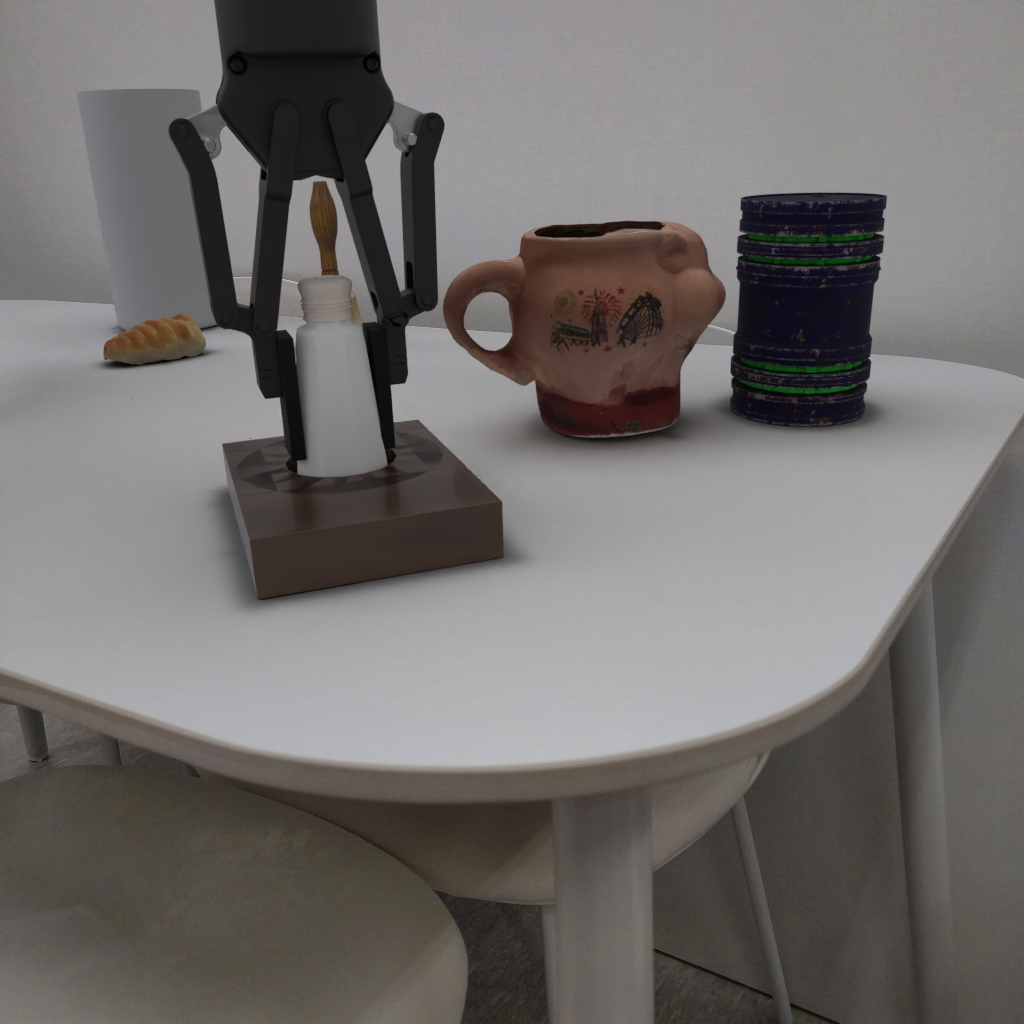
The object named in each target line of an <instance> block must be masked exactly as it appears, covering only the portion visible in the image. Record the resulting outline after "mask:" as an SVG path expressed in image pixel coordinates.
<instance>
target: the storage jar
mask: <svg viewBox="0 0 1024 1024" xmlns="http://www.w3.org/2000/svg"><path fill="white" fill-rule="evenodd" d="M887 202H888V195H886V194H882V193H881V194H880V193H870V192H869V193H867V192H788V193H784V192H783V193H767V194H766V193H765V194H753V195H746V196H741V197H740V209H739V210H740V211H741V218H740V219H739V227H738V229H739V232H740V233H742V234H740V235H738V236H737V241H736V253H737V254H738V255H739V256H738V257H737V265H736V267H735V270H736V279H737V281H738V283H739V288H738V289H739V291H738V305H737V307H738V308H737V327H736V331H735V332H734V334H733V340H732V354H733V355H732V356H731V357H730V370H729V371H730V372H729V373H730V375H731V376H732V378H731V381H730V387H731V389H732V395H731V397H730V398H729V409H730V410H731V412H733V413H734V414H736V415H737V416H740V417H741V418H745V419H747V420H751V421H755V422H759V423H764V424H771V425H778V426H786V427H787V426H788V427H789V426H790V427H791V426H792V427H827V426H837V425H842V424H846V423H847V424H848V423H851V422H854V421H857V420H859V419H861V418H862V417H863V416H864V415H865V412H866V402H865V400H864V399H865V394H866V393H867V391H868V383H867V381H868V380H870V378H871V371H872V369H871V368H872V360H871V359H870V357H871V355H872V346H873V344H872V343H873V337H872V335H871V333H870V331H871V330H870V329H871V320H872V312H873V303H874V302H873V300H874V293H875V284H876V283H877V281H878V280H879V277H880V271H881V270H882V267H881V259H882V257H880V256H879V255H881V254H883V252H884V243H885V235H883V234H880V233H882V232H883V231H885V230H884V229H885V222H886V221H885V220H886V218H884V210H886V208H887Z"/></svg>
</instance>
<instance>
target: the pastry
mask: <svg viewBox="0 0 1024 1024" xmlns="http://www.w3.org/2000/svg"><path fill="white" fill-rule="evenodd" d="M206 347H207V341H206V338H205V336H204V334H203V331H202V329H200V328H199V327H198V326H197V325H196V322H195V320H194V319H193V318H192V317H191V316H189V315H186V314H178V315H176V316H171V317H170V318H163V319H150V320H146V321H144V322H142V323H140V324H137V325H135V326H133V327H132V328H131V329H129V330H124V331H121V332H119V333H118V334H117V335H116V336H115V335H114V336H113V337H112V338H109V339H108V340H106V341H105V343H104V345H103V355H102V356H103V359H104V360H105V361H109V360H110V361H115V362H119V363H124V364H130V365H131V366H133V365H138V366H139V365H140V366H141V365H144V364H146V363H147V364H148V363H158V362H160V361H174V360H179V359H182V358H183V357H188V358H191V357H196V356H198V355H201V354H203V353H204V350H205V348H206Z"/></svg>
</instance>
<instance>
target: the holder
mask: <svg viewBox="0 0 1024 1024" xmlns="http://www.w3.org/2000/svg"><path fill="white" fill-rule="evenodd" d="M394 433H395V446H396V448H391V449H385V453H386V459H387V464H388V465H387V466H385V467H383V468H381V469H378V470H374V471H371V472H367V473H364V474H358V475H350V476H343V477H313V476H305V475H299V474H298V462H297V461H292V459H291V457H290V455H289V453H288V451H287V449H286V446H285V438H284V435H281V436H272V437H264V438H257V439H255V438H254V439H249V440H248V439H247V440H239V441H232V442H224V443H221V448H222V454H223V461H224V469H225V475H226V483H227V491H228V494H229V497H230V501H231V504H232V508H233V512H234V516H235V521H236V524H237V527H238V532H239V536H240V539H241V542H242V546H243V550H244V554H245V557H246V561H247V565H248V569H249V572H250V577H251V580H252V583H253V587H254V591H255V596H256V599H257V600H263V599H268V598H274V597H280V596H286V595H291V594H298V593H302V592H303V593H304V592H309V591H315V590H321V589H325V588H332V587H339V586H344V585H349V584H356V583H361V582H367V581H373V580H378V579H379V580H380V579H384V578H391V577H396V576H402V575H407V574H414V573H419V572H424V571H430V570H435V569H442V568H443V569H444V568H447V567H453V566H458V565H465V564H472V563H477V562H484V561H487V560H493V559H499V558H504V556H505V546H504V544H505V543H504V542H505V541H504V518H503V517H504V514H503V513H504V512H503V501H502V500H501V499H500V498H499V497H498V496H497V495H496V494H495V493H494V491H492V490H491V489H490V488H489V487H488V485H486V484H485V483H484V482H483V481H482V480H481V479H480V478H479V477H478V476H477V475H476V474H475V473H473V472H472V471H471V469H469V468H468V466H466V465H465V463H464V462H463V461H462V460H461V459H460V458H458V456H457V455H456V454H454V453H453V451H451V449H449V448H448V447H447V446H446V445H445V444H444V443H443V442H442V440H440V439H439V438H438V437H437V436H436V435H435V434H434V433H433V432H432V431H431V430H430V429H429V428H427V426H425V425H424V423H422V422H421V420H419V419H410V420H403V421H402V420H401V421H394Z"/></svg>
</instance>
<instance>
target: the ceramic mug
mask: <svg viewBox="0 0 1024 1024" xmlns="http://www.w3.org/2000/svg"><path fill="white" fill-rule="evenodd" d="M709 263H710V262H709V255H708V249H707V247H706V244H705V243H704V240H703V238H702V237H701V236H700V234H699V233H697V232H696V231H695V230H694V229H692V228H690V227H688V226H686V225H685V224H682V223H679V222H674V221H665V220H664V221H663V220H649V221H647V220H646V221H645V220H620V221H619V220H618V221H606V222H600V223H576V224H575V223H573V224H549V225H543V226H538V227H535V228H532V229H530V230H527V231H526V232H524V233H523V234H522V237H521V238H520V243H519V253H518V255H517V256H516V257H513V258H509V259H505V260H504V259H499V260H498V259H497V260H488V261H487V260H485V261H482V262H477V263H476V264H473V265H471V266H469V267H467V268H466V269H464V270H463V271H461V272H460V273H458V274H457V275H456V276H455V277H454V279H452V281H451V282H450V284H449V286H448V288H447V289H446V290H447V291H446V292H445V295H444V298H443V301H442V315H443V319H444V323H445V326H446V328H447V330H448V332H449V334H450V336H451V338H452V339H453V340H454V341H455V343H456V344H457V345H459V346H460V347H461V348H462V349H464V350H465V351H466V352H467V353H468V355H469V356H471V357H472V358H473V359H475V360H476V361H478V362H480V363H481V364H482V365H483V366H485V367H486V368H487V369H489V370H490V371H491V372H494V373H497V374H499V375H502V376H504V377H506V378H508V379H509V380H511V381H512V382H514V383H515V384H517V385H520V386H521V387H525V386H527V385H529V384H531V383H532V382H534V383H535V384H534V385H535V395H536V400H537V407H538V411H539V414H540V415H539V416H540V419H541V421H542V423H544V425H545V426H546V427H547V428H549V429H550V430H552V431H555V432H557V433H560V434H563V435H568V436H570V437H576V438H590V439H591V438H592V439H593V438H594V439H595V438H615V437H626V436H627V437H628V436H635V435H640V434H645V433H653V432H658V431H662V430H665V429H668V428H670V427H672V426H673V425H674V424H676V423H677V421H678V420H679V418H680V416H681V371H682V367H683V365H684V362H686V361H685V360H686V359H687V358H688V356H689V355H690V353H691V352H692V351H693V349H694V347H695V345H697V342H698V341H699V339H700V337H701V336H702V335H703V333H705V331H706V330H707V328H708V327H709V325H710V324H711V323H712V322H713V321H714V320H715V319H716V318H717V316H718V314H719V313H720V312H721V311H722V308H723V307H724V305H725V303H726V299H727V298H726V297H727V292H726V288H725V286H724V283H723V281H721V279H720V278H719V277H718V276H717V275H716V274H715V273H714V272H713V270H712V269H711V267H710V265H709ZM483 293H494V294H499V295H501V296H502V297H503V298H505V299H506V301H507V303H508V313H509V317H510V323H511V336H510V338H509V340H508V342H507V343H506V344H505V345H504V346H503V347H502V348H499V349H496V350H489V349H486V348H484V347H483V346H482V345H480V344H479V343H478V342H477V341H475V340H474V339H473V338H472V337H471V336H470V334H469V333H468V331H467V330H466V328H465V316H466V312H467V310H468V306H469V305H470V304H471V302H472V301H473V300H474V299H475V298H476V297H477V296H479V295H481V294H483Z"/></svg>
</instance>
